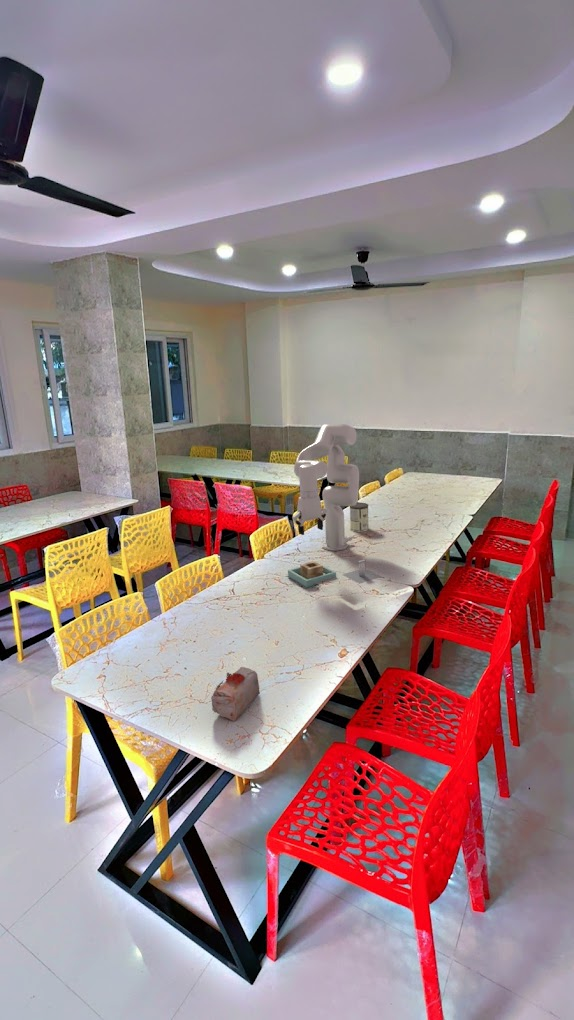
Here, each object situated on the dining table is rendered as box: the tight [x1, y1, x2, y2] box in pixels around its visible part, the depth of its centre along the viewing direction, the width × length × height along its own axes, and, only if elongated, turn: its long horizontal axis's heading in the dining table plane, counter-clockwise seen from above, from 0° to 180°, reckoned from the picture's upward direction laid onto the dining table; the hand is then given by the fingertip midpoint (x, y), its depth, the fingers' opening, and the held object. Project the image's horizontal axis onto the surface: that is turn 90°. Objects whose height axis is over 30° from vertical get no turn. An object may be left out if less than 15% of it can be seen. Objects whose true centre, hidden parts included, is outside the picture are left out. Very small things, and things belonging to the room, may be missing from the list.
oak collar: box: [299, 560, 324, 579], centre depth 219 cm, size 7×7×6 cm
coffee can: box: [349, 502, 369, 533], centre depth 283 cm, size 10×10×14 cm
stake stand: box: [342, 559, 383, 585], centre depth 216 cm, size 12×12×8 cm
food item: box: [210, 666, 261, 722], centre depth 136 cm, size 14×8×10 cm, turn 152°
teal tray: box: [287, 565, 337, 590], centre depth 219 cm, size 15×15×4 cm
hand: (311, 531), depth 219 cm, fingers open, 9 cm apart
